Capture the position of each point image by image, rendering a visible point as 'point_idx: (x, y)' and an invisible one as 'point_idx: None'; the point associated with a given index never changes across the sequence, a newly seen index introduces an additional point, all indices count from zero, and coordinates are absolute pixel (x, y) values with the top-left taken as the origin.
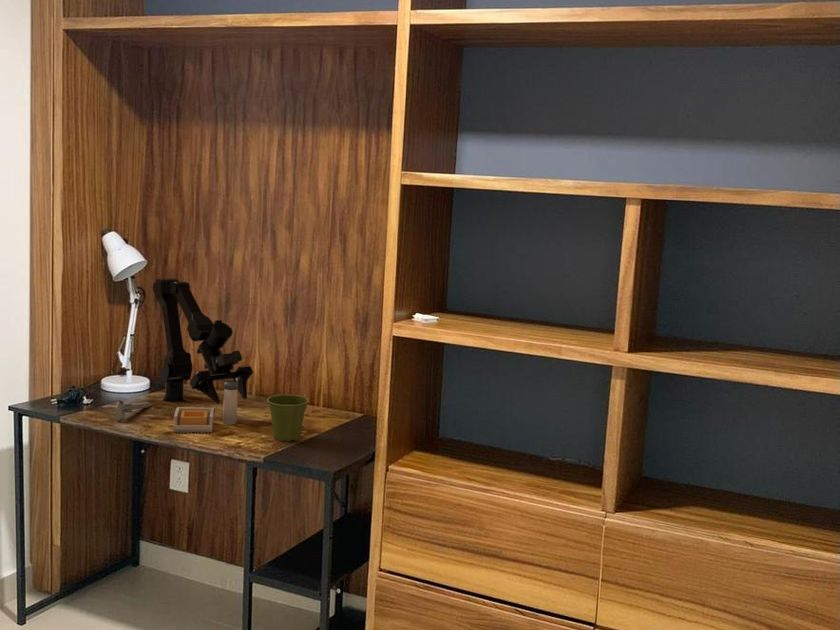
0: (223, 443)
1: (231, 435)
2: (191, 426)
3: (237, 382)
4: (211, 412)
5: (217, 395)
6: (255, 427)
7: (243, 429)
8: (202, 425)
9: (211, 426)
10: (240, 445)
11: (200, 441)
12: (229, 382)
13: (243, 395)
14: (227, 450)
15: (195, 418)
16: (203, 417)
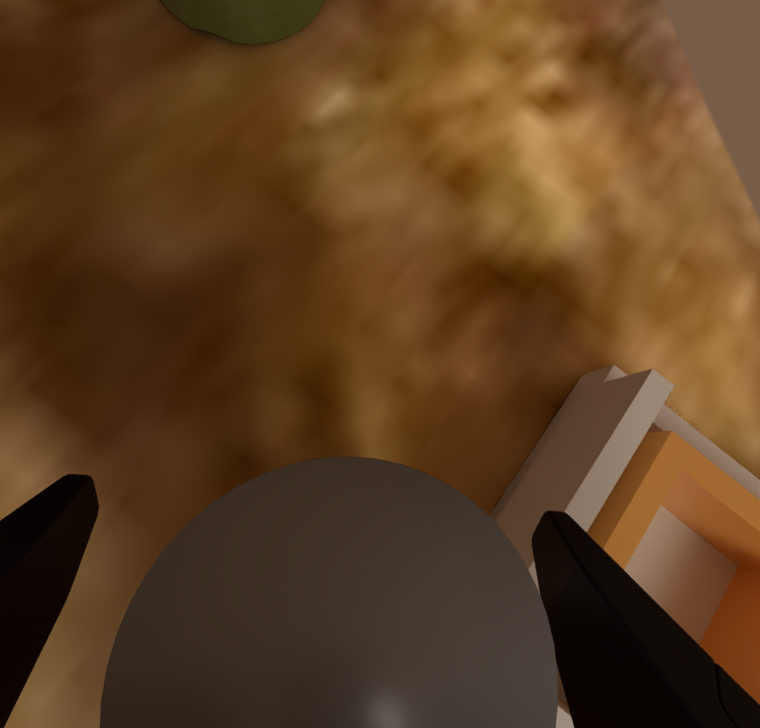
0: (635, 152)
1: (504, 245)
2: (739, 467)
3: (220, 505)
4: (587, 508)
5: (600, 585)
6: (231, 288)
7: (344, 304)
8: (668, 425)
9: (617, 367)
10: (573, 63)
11: (729, 270)
12: (433, 642)
13: (64, 551)
14: (679, 50)
15: (743, 494)
16: (694, 448)
